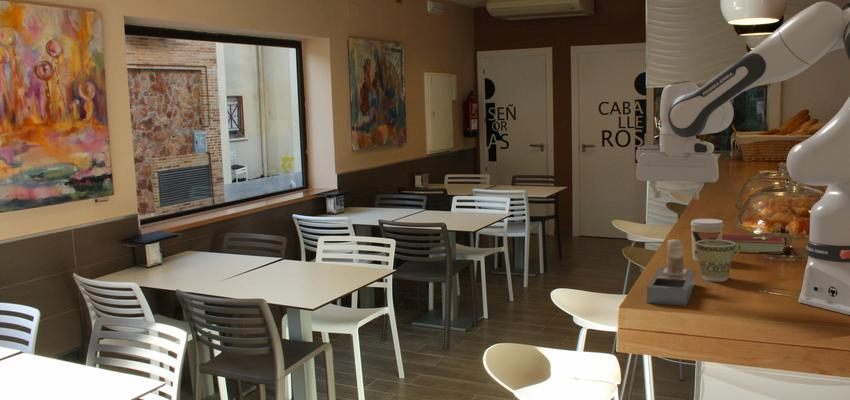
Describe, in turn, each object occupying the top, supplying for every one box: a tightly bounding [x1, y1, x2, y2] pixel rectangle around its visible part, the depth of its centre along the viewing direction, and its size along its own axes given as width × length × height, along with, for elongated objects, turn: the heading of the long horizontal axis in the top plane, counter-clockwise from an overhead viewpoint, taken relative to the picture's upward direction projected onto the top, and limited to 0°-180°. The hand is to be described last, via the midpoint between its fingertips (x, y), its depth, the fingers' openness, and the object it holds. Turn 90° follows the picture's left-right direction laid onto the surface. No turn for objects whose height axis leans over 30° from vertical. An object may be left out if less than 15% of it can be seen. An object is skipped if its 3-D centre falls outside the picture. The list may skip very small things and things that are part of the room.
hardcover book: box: [722, 233, 786, 253], centre depth 247 cm, size 12×21×4 cm, turn 70°
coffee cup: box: [690, 218, 724, 263], centre depth 232 cm, size 9×9×12 cm
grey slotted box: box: [646, 267, 696, 307], centre depth 195 cm, size 22×9×4 cm, turn 156°
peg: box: [666, 239, 684, 273], centre depth 201 cm, size 4×4×8 cm
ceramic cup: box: [696, 240, 741, 283], centre depth 209 cm, size 13×10×10 cm
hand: (676, 198), depth 199 cm, fingers open, 8 cm apart
